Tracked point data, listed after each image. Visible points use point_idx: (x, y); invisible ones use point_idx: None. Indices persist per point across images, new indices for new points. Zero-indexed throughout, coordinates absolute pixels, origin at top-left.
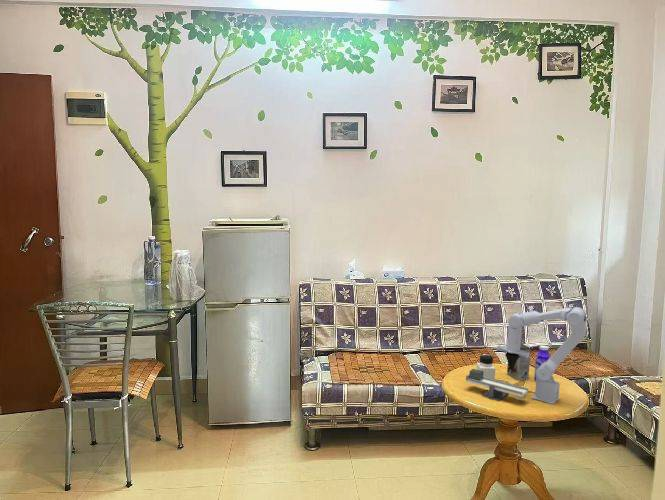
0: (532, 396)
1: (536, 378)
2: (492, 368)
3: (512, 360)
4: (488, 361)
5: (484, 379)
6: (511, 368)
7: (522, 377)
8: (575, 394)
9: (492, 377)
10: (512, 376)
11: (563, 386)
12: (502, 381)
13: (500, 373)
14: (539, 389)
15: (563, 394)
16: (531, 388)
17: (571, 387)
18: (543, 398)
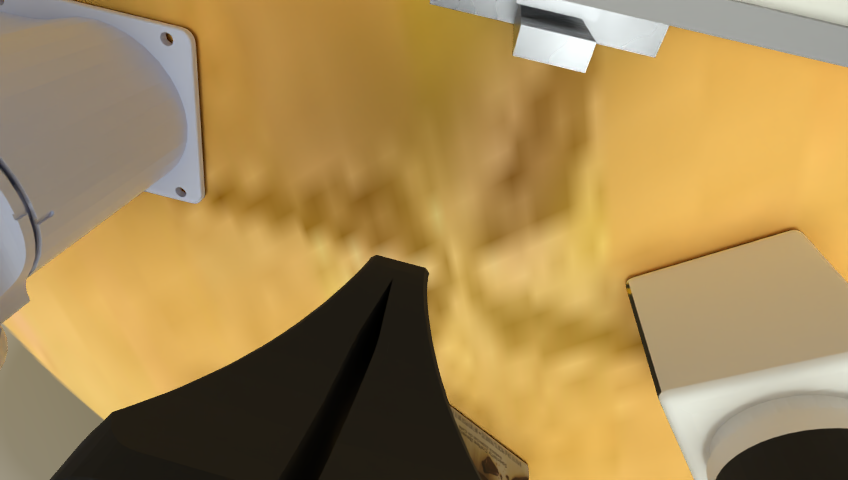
0: (188, 59)
1: (8, 168)
2: (700, 387)
3: (286, 378)
4: (816, 474)
5: (845, 20)
6: (375, 265)
7: None
8: None
9: (660, 304)
10: (479, 432)
11: (138, 394)
12: (520, 35)
13: (579, 461)
14: (28, 52)
15: (62, 268)
16: (290, 280)
17: (96, 396)
18: (53, 20)
